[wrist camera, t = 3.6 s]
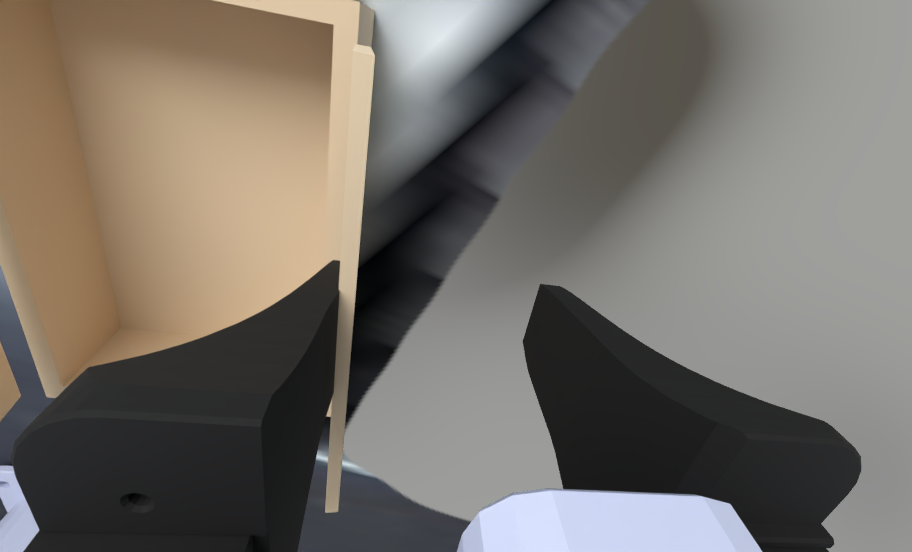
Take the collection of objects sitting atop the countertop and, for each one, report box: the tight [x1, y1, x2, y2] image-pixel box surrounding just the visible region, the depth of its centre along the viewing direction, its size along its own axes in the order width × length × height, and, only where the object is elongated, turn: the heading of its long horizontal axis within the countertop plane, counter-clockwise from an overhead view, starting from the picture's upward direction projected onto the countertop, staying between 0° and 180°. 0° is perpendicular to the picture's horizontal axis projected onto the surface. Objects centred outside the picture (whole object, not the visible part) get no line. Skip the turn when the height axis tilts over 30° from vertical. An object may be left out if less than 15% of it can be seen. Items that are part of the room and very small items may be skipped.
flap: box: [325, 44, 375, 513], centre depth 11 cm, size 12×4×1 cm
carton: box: [0, 0, 375, 417], centre depth 15 cm, size 15×10×4 cm, turn 170°
